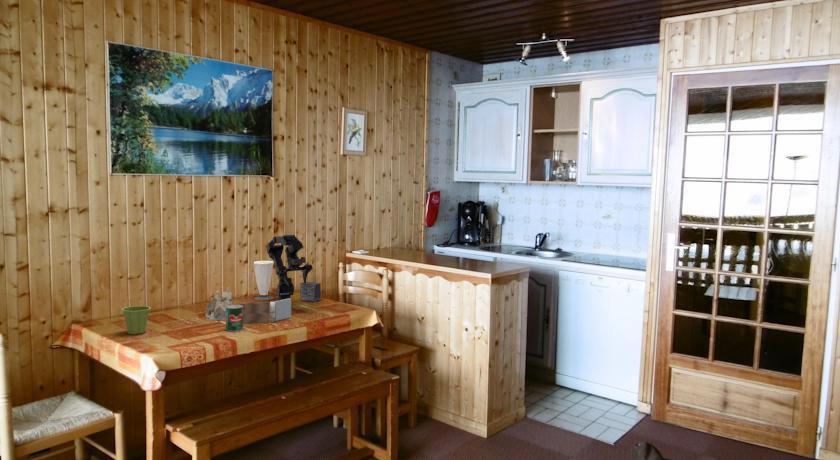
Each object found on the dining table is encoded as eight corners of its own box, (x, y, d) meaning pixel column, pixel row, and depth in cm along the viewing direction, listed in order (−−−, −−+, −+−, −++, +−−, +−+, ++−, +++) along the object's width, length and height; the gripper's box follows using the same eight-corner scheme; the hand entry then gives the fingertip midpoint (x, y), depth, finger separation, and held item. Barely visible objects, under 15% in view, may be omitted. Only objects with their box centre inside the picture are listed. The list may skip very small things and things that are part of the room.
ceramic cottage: (212, 312, 314) (212, 284, 311) (241, 315, 310) (241, 287, 308) (195, 321, 298) (195, 291, 296) (226, 324, 295) (225, 295, 293)
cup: (250, 299, 348) (250, 262, 346) (258, 295, 359) (258, 260, 357) (268, 300, 346) (268, 263, 344) (276, 296, 357) (276, 261, 356)
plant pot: (149, 335, 267) (148, 310, 266) (119, 336, 264) (119, 311, 263) (152, 328, 279) (152, 305, 278) (124, 330, 275) (124, 306, 274)
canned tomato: (233, 332, 275) (233, 308, 274) (221, 329, 279) (221, 306, 278) (246, 328, 281) (246, 305, 280) (235, 326, 286) (235, 303, 285)
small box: (321, 300, 349) (321, 282, 348) (314, 302, 343) (314, 284, 342) (306, 298, 353) (306, 281, 353) (299, 300, 348) (299, 282, 347)
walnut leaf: (274, 321, 297) (274, 301, 296) (275, 322, 294) (275, 302, 293) (239, 323, 292) (239, 302, 291) (239, 324, 290) (239, 303, 289)
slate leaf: (272, 322, 293) (272, 302, 293) (269, 321, 295) (268, 302, 294) (292, 317, 304) (292, 298, 303) (288, 316, 306) (288, 298, 305)
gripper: (279, 252, 308) (284, 281, 303) (313, 250, 318) (318, 278, 313) (273, 259, 317) (277, 287, 312) (306, 257, 326) (311, 285, 322)
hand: (296, 284), depth 314 cm, fingers open, 9 cm apart
